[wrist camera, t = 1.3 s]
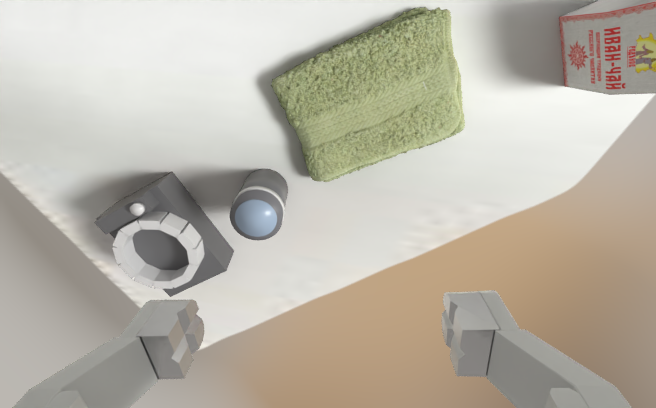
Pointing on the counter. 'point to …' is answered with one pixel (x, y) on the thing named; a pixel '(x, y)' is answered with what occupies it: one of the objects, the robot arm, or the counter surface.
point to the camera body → (165, 237)
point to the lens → (260, 205)
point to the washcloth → (375, 95)
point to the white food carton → (610, 47)
